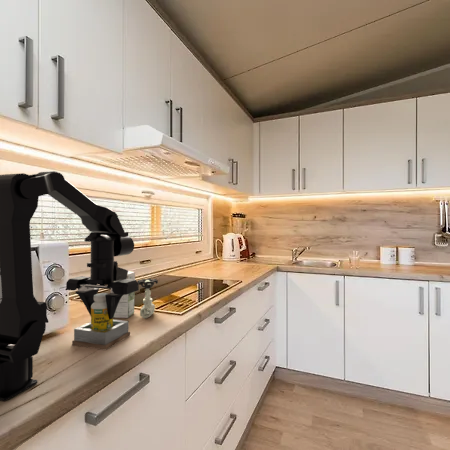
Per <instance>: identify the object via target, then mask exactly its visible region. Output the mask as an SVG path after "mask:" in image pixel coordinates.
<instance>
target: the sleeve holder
mask: <svg viewBox="0 0 450 450" xmlns="http://www.w3.org/2000/svg"><path fill="white" fill-rule="evenodd" d="M130 336H131V332H130V331H129V320H121V319H113V327H111V328H109V329H107V330H105V331H102V330H94V329H91V321H90V322H88V323H84V324H83V325H80V326H77V327H75V328H74V329H73V340H72V342H71V343H72V344H71V345H72V346H77V347H84V348H90V349H95V350H96V349H97V350H101V351H102V350H103V351H106V350H108V349H109V348H111V347H113V346H115V345H116V344H118V343H120V342H122V341H124V340H125V339H127V338H128V337H130Z"/></svg>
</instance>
